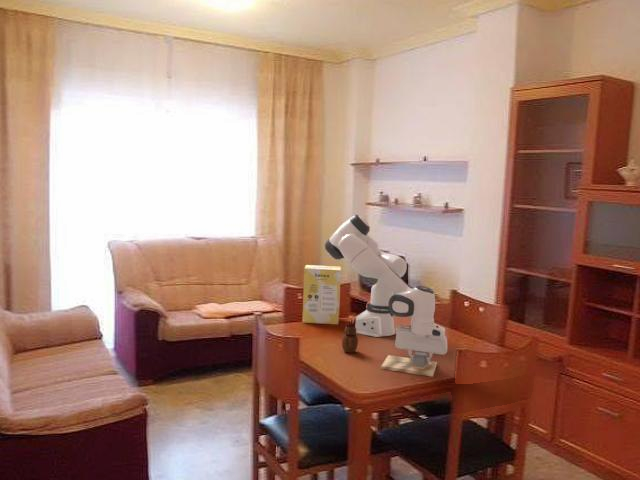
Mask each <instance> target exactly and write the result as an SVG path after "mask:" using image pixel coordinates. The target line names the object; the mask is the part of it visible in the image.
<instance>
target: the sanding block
mask: <svg viewBox="0 0 640 480" xmlns="http://www.w3.org/2000/svg"><path fill="white" fill-rule="evenodd" d="M413 356H414V357H413V365H412V368H418V369H424V368H425V366H426V364H427V363H425V362H426V358H428V353H427V352H420V351H415V353H414V355H413Z"/></svg>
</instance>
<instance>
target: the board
mask: <svg viewBox="0 0 640 480" xmlns="http://www.w3.org/2000/svg"><path fill="white" fill-rule="evenodd" d="M412 365H413V361H410V357H403V356H398V355H397V356H396V355H390V354H388V355H387V357H386V358H385V360H384V361H383V363H382V365H381V366H380V368H381V370H385V371H386V370H388V371H393V372H400V373H406V374H413V375H420V376H427V377H433V378H434V374H435V372H436V368H437V366H438V362H437V361H431V360H430V363H429V364H428V363H427V364H426V366H425V368H424V369H418V368H412Z"/></svg>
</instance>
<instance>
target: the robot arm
mask: <svg viewBox="0 0 640 480" xmlns="http://www.w3.org/2000/svg"><path fill="white" fill-rule="evenodd" d="M370 229H371V227H370V225H369V222H368V221H367V220H366V218H364V217H363V216H361V215H359V214H353V215H351V216H350V217H349V218H348V219H347V220H346V221H345V222H343V223H342V224H341V225H340V226H339V227H338V228H337V229H336V230H335V231H334V232H333V234H332V235H331V236H330V237H329V238H328V239H327V240H326V242H325V243H324V249H325V251H326V253H327V255H329V256H330V257H331V258H333V259H334V260H342V259H345V261H346V262H347V264H348V265H349V266H351V268H352V269H353V270H354V271H355V272H356V273H357V274H358V275H360V276H361V277H365V278H370V279H371V278H372V279H376V280H377V282H376V283H375V284H373V285H372V286H371V290H370V291H371V292H370V300H369V301H367V303H366V306H365V308H366V309H365V310H364V311H362V312H361V313H359V314H358V315H357V316H356V317H355V318H356V324H355V328H356V334H358V335H364V336H368V337H369V336H370V337H375V338H380V337H388V336H389V337H390V336H393V335H396V336H395V342H394V343H395V344H394V346H395V348H396V349H401V350H407V353H408V355H409V358H410V361H413V357H414V355H413V353H412V352H413V351H415V352H421V353H427V354H428V357H427V358H426V362H425V363H428V364H429V363H430V361H431V358H432V357H433V354H435V355H442V356H445V355H446V354H447V352H448V339H447V336H446V329H445V327H443V326H441V325H439V324H436V323H435V319H434V314H435V312H436V311H435V310H436V295H435V291H434V290H432V288H430V287H427V286H424V285H416V286H414V287H413V286H411V285H409V284H408V283H407V282H405V280H404V279H402V277H404V275H405V274H406V272H407V266H408V264H407V261H406V259H404V258H402V257H400V256H399V255H397V254H392V253H388V252H385V251H383V250H380V248H379V245H378V242H377V241H376V240H374V239H373V238H372V237H371V236H370V235H369V232H370ZM394 316H395V317H398V318H410V319H411V320H410V325H402V324H401V325H397V326H396V328H395V323H394Z"/></svg>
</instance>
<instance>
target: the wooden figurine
mask: <svg viewBox="0 0 640 480" xmlns="http://www.w3.org/2000/svg"><path fill="white" fill-rule="evenodd" d="M355 324H356V317H354V320H353V318H351V320H349V321H348V322H347V323H346V326H345V328H344V333H345V334H343V336H342V338H341V348H342V349H343V351H344V352H345V353H347V354H348V353H349V354H351V353H355V352H356V351H357V349H358V345H359V338H358V336H357V335H356V334H357V333H356V328H355Z"/></svg>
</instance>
